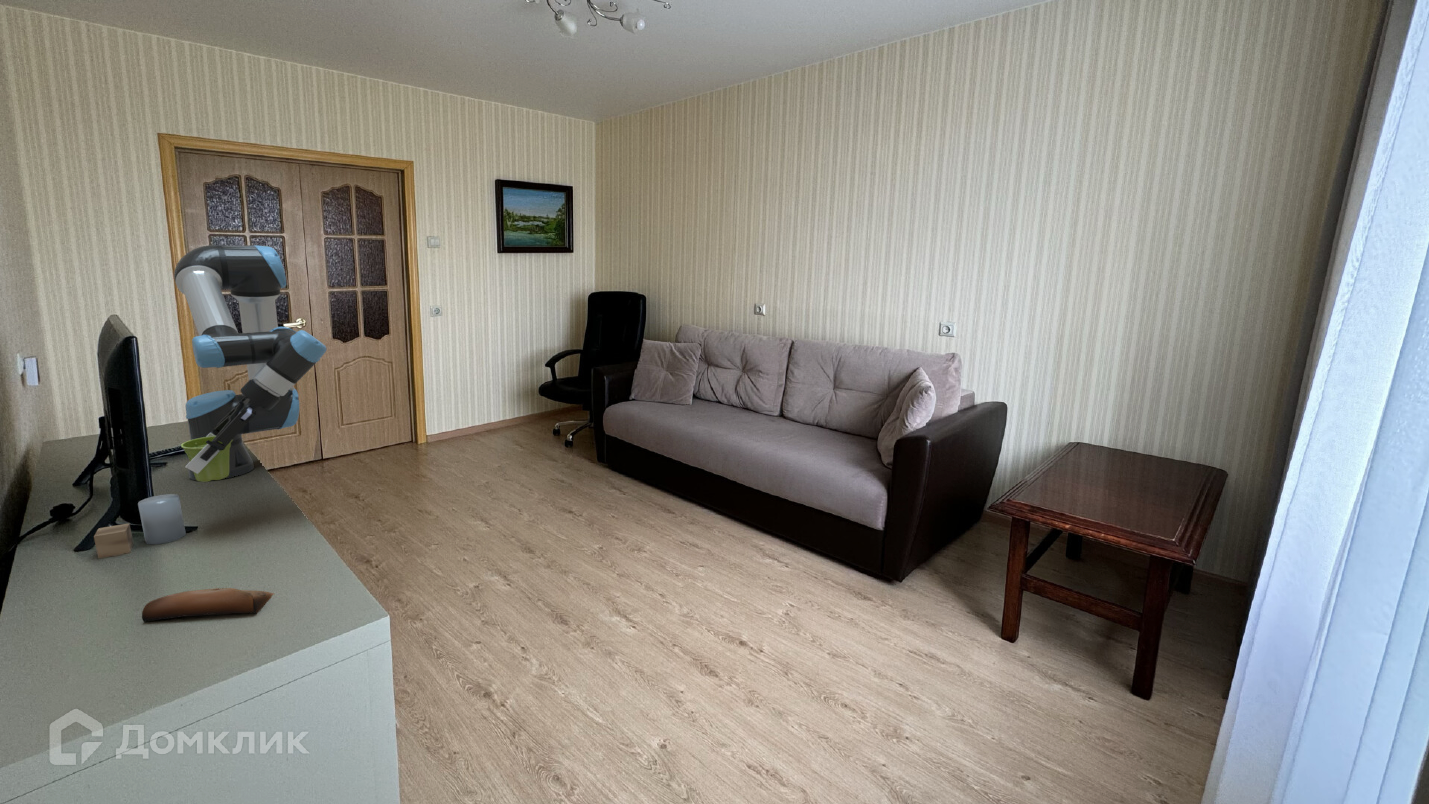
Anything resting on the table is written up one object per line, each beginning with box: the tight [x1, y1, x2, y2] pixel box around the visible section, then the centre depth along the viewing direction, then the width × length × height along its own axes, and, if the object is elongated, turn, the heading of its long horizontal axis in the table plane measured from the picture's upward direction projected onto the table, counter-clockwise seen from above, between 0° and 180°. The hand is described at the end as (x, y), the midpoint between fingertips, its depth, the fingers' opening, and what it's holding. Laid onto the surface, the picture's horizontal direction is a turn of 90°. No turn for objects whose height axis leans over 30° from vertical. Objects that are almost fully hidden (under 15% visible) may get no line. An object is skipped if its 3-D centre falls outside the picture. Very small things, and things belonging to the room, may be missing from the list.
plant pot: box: [180, 436, 233, 483], centre depth 150 cm, size 9×9×9 cm
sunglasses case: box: [141, 587, 275, 623], centre depth 118 cm, size 18×7×7 cm
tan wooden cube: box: [93, 523, 134, 559], centre depth 140 cm, size 5×5×5 cm
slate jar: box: [137, 493, 187, 545], centre depth 147 cm, size 7×7×9 cm
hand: (193, 463), depth 149 cm, fingers closed on plant pot, 9 cm apart
